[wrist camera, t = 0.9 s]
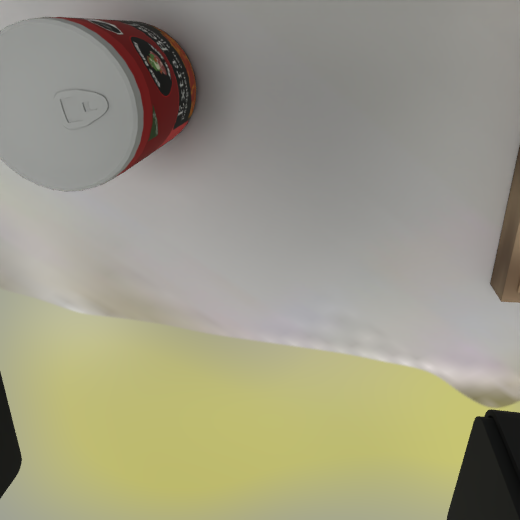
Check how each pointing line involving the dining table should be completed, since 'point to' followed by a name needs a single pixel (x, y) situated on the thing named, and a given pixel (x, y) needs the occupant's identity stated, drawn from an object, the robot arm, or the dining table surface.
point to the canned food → (88, 98)
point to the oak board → (509, 247)
